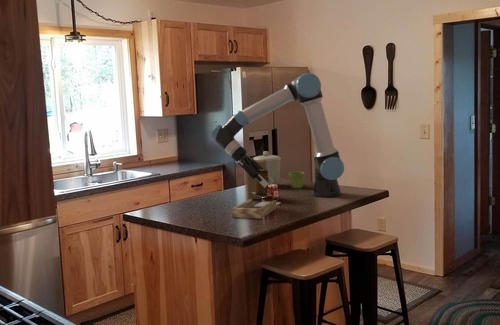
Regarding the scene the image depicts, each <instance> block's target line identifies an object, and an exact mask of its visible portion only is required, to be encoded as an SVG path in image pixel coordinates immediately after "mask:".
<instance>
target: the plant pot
mask: <svg viewBox="0 0 500 325" xmlns="http://www.w3.org/2000/svg"><path fill="white" fill-rule="evenodd" d="M305 174H306V173H305V172H304V171H292V172H288V175H289V178H290V183H291V188H292V189H294V188H295V189H302V188H303V187H304V186H303V184H304V183H303V182H304V177H305Z"/></svg>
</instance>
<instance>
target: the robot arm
mask: <svg viewBox="0 0 500 325" xmlns="http://www.w3.org/2000/svg"><path fill="white" fill-rule="evenodd" d="M323 98H324V96H323V93H322V82H321V80H320V78H319V77H318V76H317V75H316V74H314V73H311V72H305V73H302V74H300V75H298V76H296V77H295V78H294V79H292V80H291V81H290V82H289V83H286V84H285V85H284V87H283V88H281V89H279V90H277V91H276V92H273V93H272V94H270V95H268V96H267V97H265V98H263V99H260V100H259V101H257V102H255V103H253V104H251V105H250V106H248V107H246V108H244V109H242V110H238V111H237V112H235V113H234V114H233V115H230V117H229V119H228V121H226V123H224V125H221V124H218V125H216V126H215V127H214V128H212V131H211V132H210V137H211V138H212V139H213V140H214V141H215V143H216V144H217V145H218V146H220V148H221V149H223V150H224V151H225V152H226V154H227V155H229V156H230V157H231V158H232V160H234V161H235V162H238V163H237V164H238V165H239V166H240V167H241V168H242V169H243V171H245V172H246V174H247V173H248V174H249V175H250V176H251V177H252V178H253V179H254V178H255V179H256V180H257V181H258V182H259V183H260V184H261V185H262V186H263V187H264V188H265V187H266V186H267V185H268V184H269V185H270V184H271V183H272V182H273V180H272V179H271V178H270V177H269V176H268V182H267V181H266V180H265V179H264V178H263V177H262V176H261V175H260V174H258V173H257V170H258V169H263V168H262V167H261V166H260V165H259V164H258V163H257V162H256V161H255V160H254V159H253V158H254V157H253V156H248V155H247V152H248V151H247V150H246V149H245V148H244V147H243V145H242V144H241V143H239V141H237V140H236V139H235V136H236V135H238V133H239V132H240V131H241V130H242V129H244V127H246V126H247V125H249V124H251V123H252V122H254V121H256V120H258V119H260V118H262V117H263V116H265V115H267V114H269V113H271V112H273V111H275V110H277V109H279V108H281V107H283V106H284V105H286V104H288V103H290V102H295V101H298V102H299V104H300V105H302V106H303V108H304V110H305V111H304V112H305V114H306V118H307V121H308V126H309V128H310V131H311V136H312V139H313V142H314V143H313V144H314V145H315V149H316V152H315V153H314V154H313V163H314V164H313V165H314V166H313V167H314V182H313V183H314V184H313V185H312V190H311V195H312V196H314V197H319V198H331V197H338V196H341V194H342V193H341V192H342V189H341V187H340V184H339V181H338V179H340V178H341V176H342V175H343V173H344V171H345V164H344V162H343V160H342V159H341V156H340V153H339V150H338V148H336V147H335V146H334V144H333V139H332V136H331V132H330V128H329V125H328V121H327V118H326V115H325V114H326V113H325V111H324V107H323V104H322V100H323Z"/></svg>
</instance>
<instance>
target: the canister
mask: <svg viewBox="0 0 500 325" xmlns="http://www.w3.org/2000/svg"><path fill="white" fill-rule="evenodd" d="M269 153H270V152H269V151H267V150H266V151H265V150H263V152H262V155H258V156H254V157H252V158H253V159H254V160H262V159H264V160H266V167H267V170H268V176H269V177H270V178H271V179H272V180H273V182H272V183H275V184H277V185H278V184H279V182H280V172H281V159H282V157H280V156H279V155H275V154H273V155H272V154H269Z"/></svg>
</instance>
